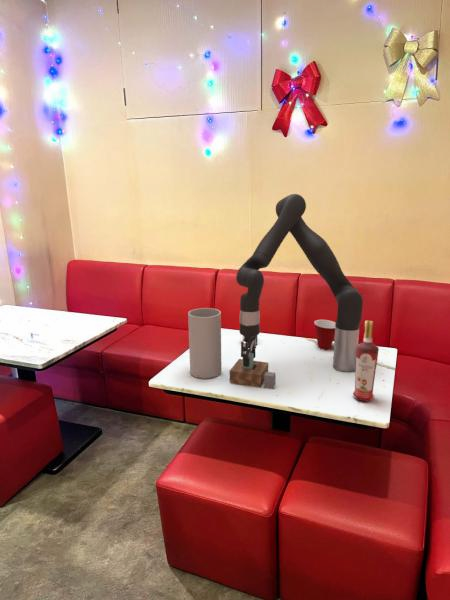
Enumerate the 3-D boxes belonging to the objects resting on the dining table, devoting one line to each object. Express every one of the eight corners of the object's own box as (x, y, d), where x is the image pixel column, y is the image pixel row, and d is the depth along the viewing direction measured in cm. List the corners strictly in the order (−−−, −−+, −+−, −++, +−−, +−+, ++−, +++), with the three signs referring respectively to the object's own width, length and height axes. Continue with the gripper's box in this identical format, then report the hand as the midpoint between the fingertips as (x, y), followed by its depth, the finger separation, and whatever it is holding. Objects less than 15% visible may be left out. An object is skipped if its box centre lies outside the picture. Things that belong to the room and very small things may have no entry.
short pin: (275, 385, 159) (275, 372, 158) (273, 389, 156) (273, 376, 155) (266, 383, 160) (266, 371, 159) (264, 387, 157) (264, 375, 156)
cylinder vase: (211, 382, 162) (209, 319, 156) (184, 375, 168) (181, 314, 162) (227, 369, 173) (226, 310, 166) (201, 364, 179) (199, 306, 172)
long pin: (245, 376, 167) (245, 352, 165) (253, 377, 166) (253, 353, 163) (242, 379, 164) (242, 355, 161) (251, 380, 163) (251, 356, 160)
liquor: (351, 401, 147) (356, 323, 139) (353, 392, 153) (358, 317, 146) (373, 404, 144) (380, 326, 137) (374, 395, 151) (381, 319, 144)
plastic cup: (336, 353, 189) (337, 327, 186) (311, 350, 192) (312, 325, 189) (337, 344, 199) (339, 320, 196) (314, 342, 202) (315, 318, 199)
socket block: (268, 374, 168) (268, 362, 167) (260, 387, 157) (260, 375, 156) (239, 370, 172) (239, 358, 171) (229, 383, 161) (229, 370, 160)
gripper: (245, 315, 167) (245, 354, 171) (234, 326, 154) (234, 368, 158) (264, 316, 164) (263, 356, 168) (254, 328, 151) (253, 370, 155)
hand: (249, 361), depth 163 cm, fingers open, 8 cm apart
